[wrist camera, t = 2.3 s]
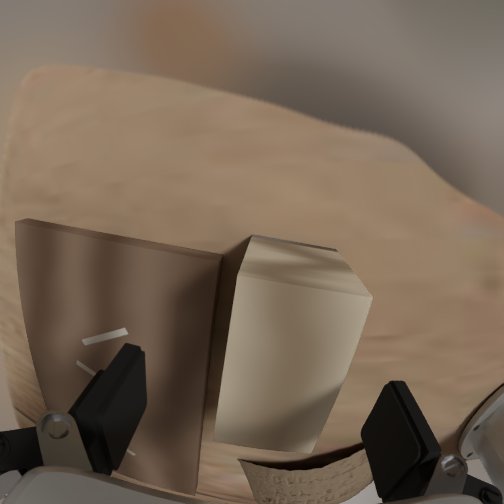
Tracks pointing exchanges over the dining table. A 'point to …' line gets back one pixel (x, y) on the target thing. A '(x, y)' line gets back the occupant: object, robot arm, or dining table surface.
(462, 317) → the dining table surface
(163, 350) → the walnut board
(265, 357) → the cream carton
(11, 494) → the robot arm
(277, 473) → the clay tablet
